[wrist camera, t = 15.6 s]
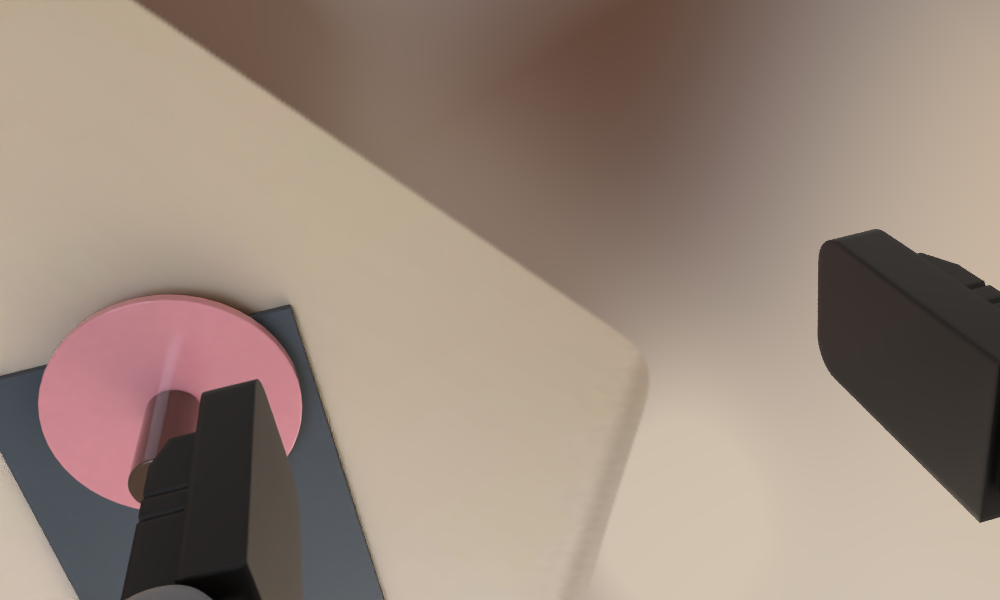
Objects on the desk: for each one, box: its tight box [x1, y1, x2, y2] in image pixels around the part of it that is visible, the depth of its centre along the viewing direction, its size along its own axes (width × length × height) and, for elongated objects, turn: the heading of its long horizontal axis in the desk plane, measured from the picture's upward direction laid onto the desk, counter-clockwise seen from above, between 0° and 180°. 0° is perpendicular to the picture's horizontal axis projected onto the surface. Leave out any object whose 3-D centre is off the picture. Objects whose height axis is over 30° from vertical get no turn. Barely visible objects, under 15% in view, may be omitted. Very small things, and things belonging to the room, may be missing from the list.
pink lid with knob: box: [38, 294, 302, 509], centre depth 39 cm, size 11×11×6 cm
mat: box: [0, 305, 384, 600], centre depth 45 cm, size 20×14×1 cm
